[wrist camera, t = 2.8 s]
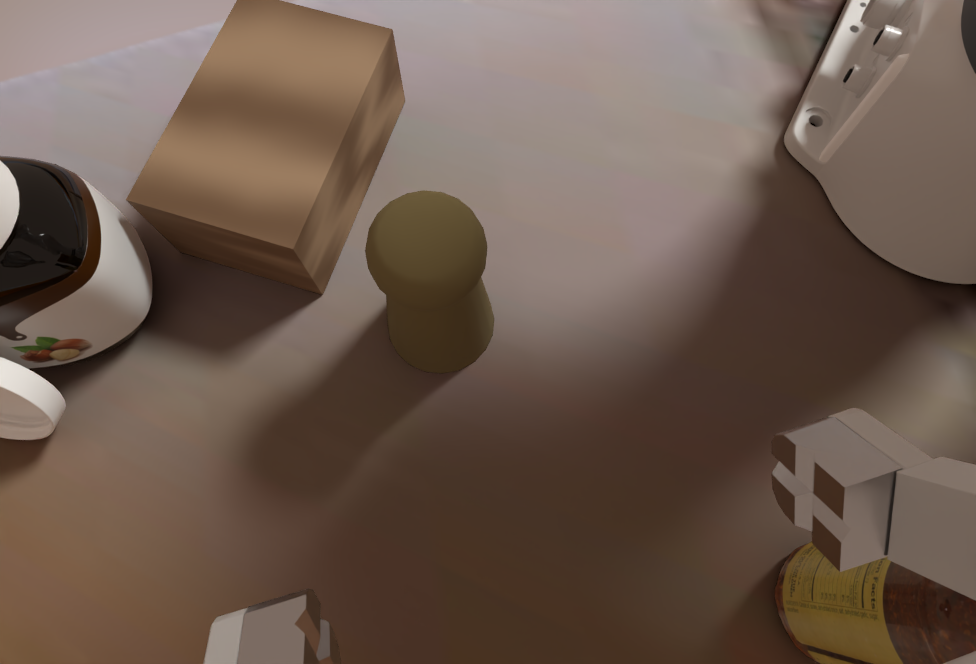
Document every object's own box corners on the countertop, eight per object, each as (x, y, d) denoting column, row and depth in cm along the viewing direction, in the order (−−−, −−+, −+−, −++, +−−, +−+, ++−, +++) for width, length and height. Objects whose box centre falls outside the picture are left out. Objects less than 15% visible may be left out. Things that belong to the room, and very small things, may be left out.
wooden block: (275, 66, 42) (242, -10, 36) (405, 100, 41) (392, 29, 36) (180, 251, 38) (125, 199, 32) (322, 294, 37) (293, 249, 31)
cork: (373, 358, 36) (327, 280, 25) (405, 262, 38) (375, 153, 27) (478, 385, 35) (475, 318, 25) (505, 287, 37) (513, 186, 27)
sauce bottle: (920, 619, 32) (1559, 726, 13) (827, 699, 31) (1377, 946, 12) (828, 505, 33) (1271, 452, 15) (736, 577, 32) (1088, 621, 13)
